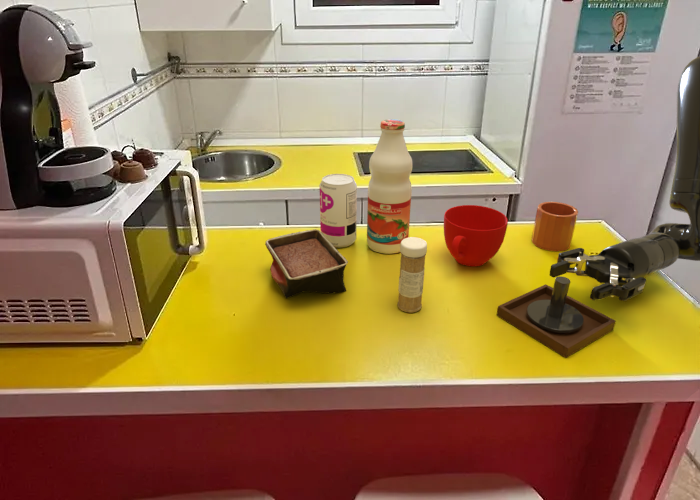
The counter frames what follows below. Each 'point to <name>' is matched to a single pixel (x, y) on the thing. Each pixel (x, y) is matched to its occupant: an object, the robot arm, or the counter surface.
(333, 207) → the supplement can
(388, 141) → the fruit juice
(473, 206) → the ceramic cup
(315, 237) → the baking dish
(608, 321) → the tray
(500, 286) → the counter surface
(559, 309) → the grey peg stand
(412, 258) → the sprinkles bottle
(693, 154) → the robot arm
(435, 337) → the counter surface
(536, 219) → the jar
